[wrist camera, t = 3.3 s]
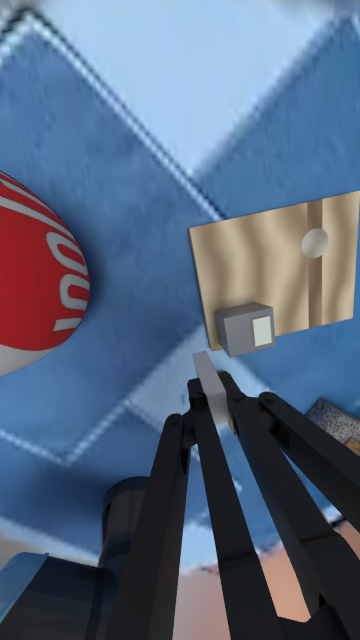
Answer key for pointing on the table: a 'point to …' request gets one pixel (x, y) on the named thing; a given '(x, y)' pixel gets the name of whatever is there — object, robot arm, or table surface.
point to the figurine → (337, 423)
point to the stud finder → (245, 328)
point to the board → (281, 263)
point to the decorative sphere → (36, 278)
